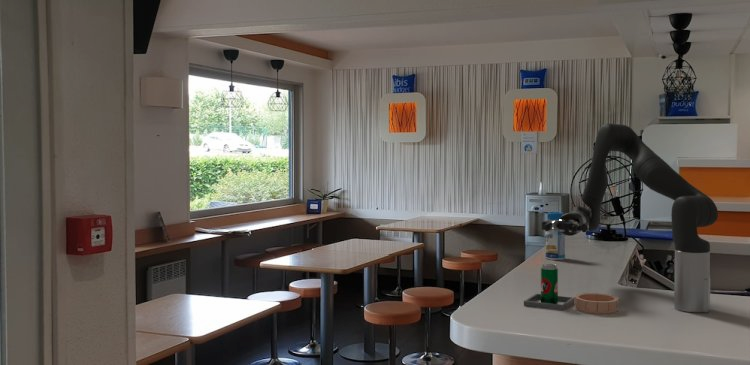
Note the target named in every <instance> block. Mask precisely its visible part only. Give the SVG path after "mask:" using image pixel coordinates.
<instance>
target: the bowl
mask: <svg viewBox="0 0 750 365" xmlns="http://www.w3.org/2000/svg"><path fill="white" fill-rule="evenodd" d="M573 305H574V309H575V310H576V311H578V312H580V313H584V314H590V315H591V314H592V315H611V314H612V315H613V314H617V313H618V312H619V306H620V298H619V297H617V296H615V295H610V294H607V293H596V292H592V293H591V292H590V293H589V292H587V293H586V292H584V293H579V294H576V295H575V296H574V303H573Z"/></svg>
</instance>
